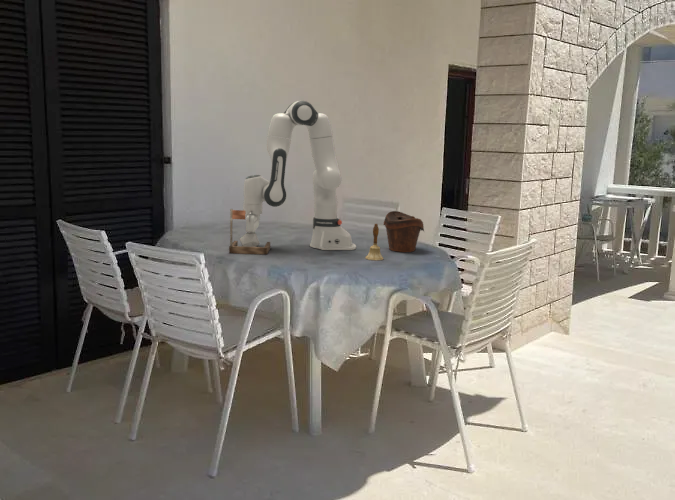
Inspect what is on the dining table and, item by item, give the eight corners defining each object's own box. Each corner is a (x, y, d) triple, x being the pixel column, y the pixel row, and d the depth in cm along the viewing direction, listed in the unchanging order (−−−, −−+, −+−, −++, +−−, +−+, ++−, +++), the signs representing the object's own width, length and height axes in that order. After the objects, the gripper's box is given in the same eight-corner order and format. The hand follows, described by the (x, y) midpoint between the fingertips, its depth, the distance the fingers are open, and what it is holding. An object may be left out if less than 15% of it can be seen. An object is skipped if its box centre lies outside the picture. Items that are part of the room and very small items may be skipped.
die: (262, 250, 314) (258, 232, 317) (256, 244, 306) (252, 226, 309) (246, 256, 315) (242, 238, 318) (240, 250, 307) (236, 231, 310)
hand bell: (386, 260, 300) (388, 225, 297) (369, 260, 297) (371, 225, 294) (379, 256, 308) (380, 222, 305) (362, 257, 305) (363, 222, 302)
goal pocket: (270, 248, 318) (271, 206, 314) (266, 254, 303) (267, 210, 299) (234, 246, 318) (234, 204, 314) (229, 253, 302) (229, 209, 299)
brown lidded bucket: (418, 255, 314) (420, 217, 311) (377, 250, 321) (379, 213, 318) (426, 249, 331) (429, 212, 328) (387, 245, 338) (389, 209, 334)
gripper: (256, 212, 304) (256, 242, 307) (262, 207, 325) (261, 235, 327) (242, 212, 305) (242, 242, 307) (249, 206, 325) (248, 235, 327)
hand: (252, 238), depth 317 cm, fingers closed
